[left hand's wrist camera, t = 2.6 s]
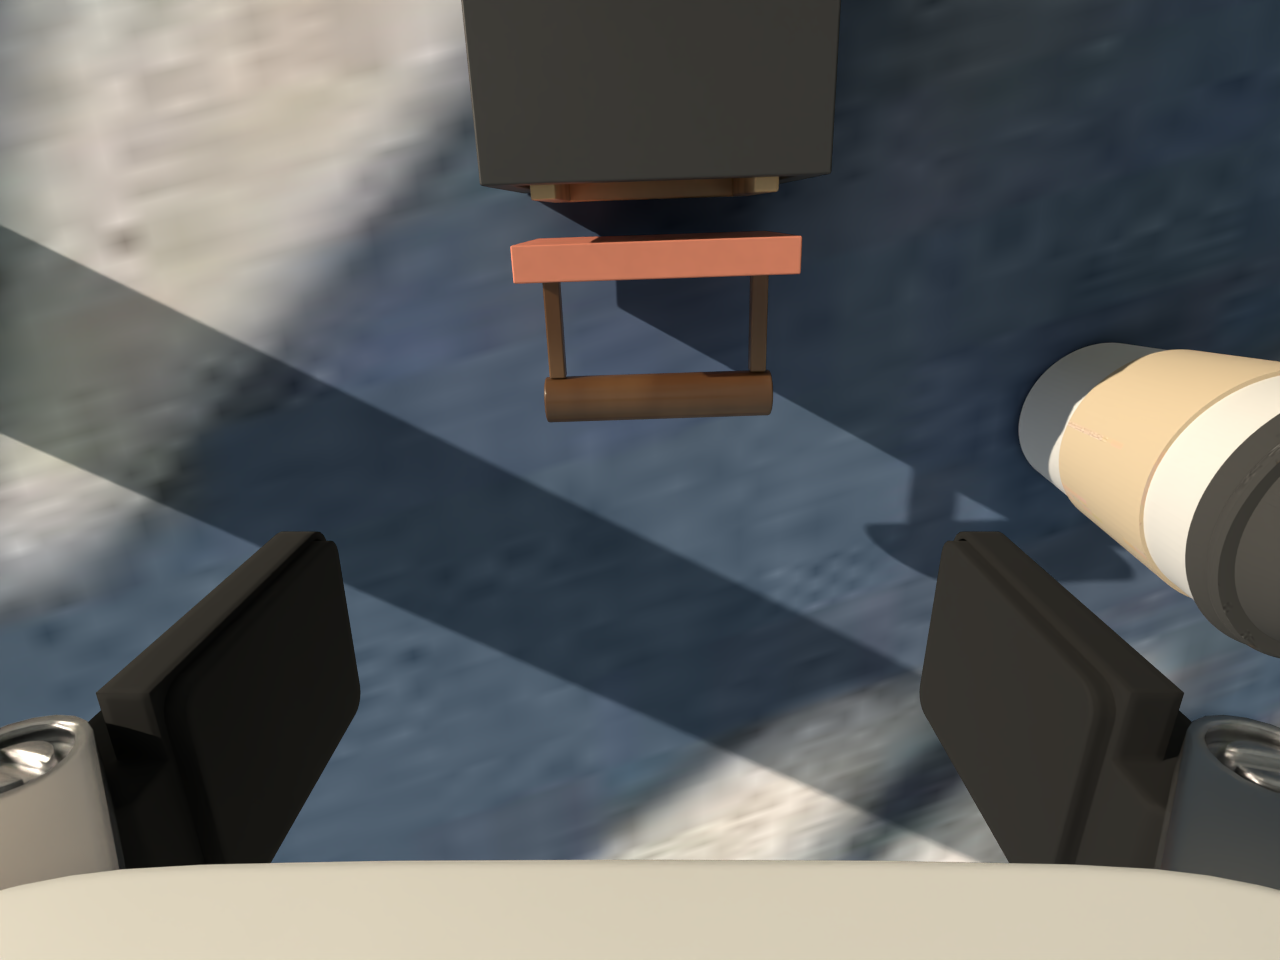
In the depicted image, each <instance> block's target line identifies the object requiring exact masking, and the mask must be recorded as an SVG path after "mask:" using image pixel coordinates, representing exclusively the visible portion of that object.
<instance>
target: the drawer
mask: <svg viewBox="0 0 1280 960" xmlns="http://www.w3.org/2000/svg"><path fill="white" fill-rule="evenodd" d="M778 189H779V177H752V178H723V179H695V180H666V181H637V182H609V183H580V184H551V185H530V190H531V199H532V200H536V201H544V202H553V203H559V202H587V201H616V200H645V199H674V198H703V197H731V196H751V195H757V194H764V193H770V192H776V191H778ZM801 252H802V236H798V235H791V234H784V233H777V232H770V231H746V232H717V233H688V234H659V235H630V236H601V237H572V238H543V239H535V240H532V241H528V242H524V243H520V244H517V245H513V246H511V258H512V269H513V280H514V283H515V284H518V283H543V295H544V308H545V321H546V334H547V347H548V360H549V373H550V377H547V378H546V380H545V385H544V401H545V412H546V417H547V420H548V422H574V421H605V420H635V419H666V418H696V417H727V416H757V415H769V414H770V413H771V410H772V404H773V383H772V376H771V373H770V371H769V370H766V345H767V310H768V276H769V275H783V274H800V272H801ZM724 276H750V305H749V353H748V369H749V371H718V372H688V373H658V374H628V375H598V376H568V377H566V375H567V371H566V356H565V342H564V327H563V313H562V298H561V284H560V282H577V281H606V280H636V279H665V278H694V277H724Z"/></svg>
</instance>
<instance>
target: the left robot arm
mask: <svg viewBox="0 0 1280 960" xmlns="http://www.w3.org/2000/svg"><path fill="white" fill-rule="evenodd" d="M96 695H97V698H98V701H99V705H100V708H101V711H100V712H99V713H98V714H97V715H95V716H94V717H93V718H92V719H91V720H90V721H89V722H87V721H86V720H83V719H81V718H78V717H76V716H67V715H51V716H44V717H36V718H31V719H27V720H24V721H20V722H16V723H12V724H9V725H6V726H4V727H1V728H0V960H1280V728H1279V727H1276V726H1274V725H1271V724H1268V723H1264V722H1260V721H1256V720H1253V719H1249V718H1244V717H1236V716H1229V715H1213V716H1204V717H1202V718H1199V719H1197V720H1194V721H1193V722H1191V721H1190V720H1189V719H1188V718H1187V717H1186V716H1185V715H1183V714H1182V713H1181V712H1180V711H1179V708H1180V705H1181V701H1182V698H1183V695H1184V692H1182V691H1181V690H1180V689H1179V688H1178V687H1177V686H1176V685H1175V684H1173V683H1172V682H1171V681H1170V680H1169V679H1168V678H1167V677H1165V676H1164V675H1163V674H1162V673H1161V672H1160V671H1159V670H1157V669H1156V668H1155V667H1154V666H1153V665H1152V664H1151V663H1149V662H1148V661H1147V660H1146V659H1145V658H1144V657H1143V656H1142V655H1140V654H1139V653H1138V652H1137V651H1136V650H1135V649H1134V648H1132V647H1131V646H1130V645H1129V644H1128V643H1127V642H1126V641H1124V640H1123V639H1122V638H1121V637H1120V636H1119V635H1118V634H1116V633H1115V632H1114V631H1113V630H1112V629H1111V628H1110V627H1109V626H1107V625H1106V624H1105V623H1104V622H1103V621H1102V620H1101V619H1099V618H1098V617H1097V616H1096V615H1095V614H1094V613H1093V612H1091V611H1090V610H1089V609H1088V608H1087V607H1086V606H1085V605H1083V604H1082V603H1081V602H1080V601H1079V600H1078V599H1077V598H1075V597H1074V596H1073V595H1072V594H1071V593H1070V592H1069V591H1068V590H1066V589H1065V588H1064V587H1063V586H1062V585H1061V584H1060V583H1058V582H1057V581H1056V580H1055V579H1054V578H1053V577H1052V576H1050V575H1049V574H1048V573H1047V572H1046V571H1045V570H1044V569H1042V568H1041V567H1040V566H1039V565H1038V564H1037V563H1036V562H1035V561H1033V560H1032V559H1031V558H1030V557H1029V556H1028V555H1027V554H1025V553H1024V552H1023V551H1022V550H1021V549H1020V548H1019V547H1017V546H1016V545H1015V544H1014V543H1013V542H1012V541H1011V540H1009V539H1008V538H1007V537H1006V536H1005V535H1004V534H1002V533H1000V532H959V533H958V534H957V535H956V537H955V539H954V541H947V542H946V543H945V544H944V546H943V549H942V554H941V560H940V566H939V572H938V578H937V585H936V591H935V597H934V603H933V609H932V615H931V622H930V628H929V634H928V640H927V646H926V653H925V659H924V665H923V671H922V677H921V683H920V702H921V706H922V710H923V712H924V714H925V716H926V718H927V719H928V721H929V723H930V725H931V726H932V728H933V730H934V732H935V733H936V735H937V737H938V739H939V740H940V742H941V744H942V746H943V747H944V749H945V751H946V753H947V754H948V756H949V758H950V760H951V761H952V763H953V765H954V767H955V768H956V770H957V772H958V774H959V775H960V777H961V779H962V781H963V782H964V784H965V786H966V788H967V789H968V791H969V793H970V795H971V796H972V798H973V800H974V802H975V803H976V805H977V807H978V809H979V810H980V812H981V814H982V816H983V818H984V819H985V821H986V823H987V825H988V826H989V828H990V830H991V832H992V833H993V835H994V837H995V839H996V840H997V842H998V844H999V846H1000V847H1001V849H1002V851H1003V853H1004V854H1005V856H1006V858H1007V860H1008V861H1009V863H969V862H917V861H795V860H485V861H363V862H311V863H271V861H272V860H273V858H274V856H275V854H276V853H277V851H278V849H279V847H280V846H281V844H282V842H283V840H284V839H285V837H286V835H287V833H288V832H289V830H290V828H291V826H292V825H293V823H294V821H295V819H296V818H297V816H298V814H299V812H300V810H301V809H302V807H303V805H304V803H305V802H306V800H307V798H308V796H309V795H310V793H311V791H312V789H313V788H314V786H315V784H316V782H317V781H318V779H319V777H320V775H321V774H322V772H323V770H324V768H325V767H326V765H327V763H328V761H329V760H330V758H331V756H332V754H333V753H334V751H335V749H336V747H337V746H338V744H339V742H340V740H341V739H342V737H343V735H344V733H345V732H346V730H347V728H348V726H349V725H350V723H351V721H352V719H353V718H354V716H355V714H356V712H357V710H358V706H359V702H360V683H359V677H358V671H357V665H356V659H355V653H354V646H353V640H352V634H351V628H350V622H349V615H348V609H347V603H346V597H345V591H344V585H343V578H342V572H341V566H340V560H339V554H338V549H337V546H336V544H335V543H334V542H333V541H326V539H325V537H324V535H323V534H322V533H321V532H280V533H278V534H276V535H275V536H274V537H273V538H272V539H271V540H269V541H268V542H267V543H266V544H265V545H264V546H263V547H261V548H260V549H259V550H258V551H257V552H256V553H255V554H253V555H252V556H251V557H250V558H249V559H248V560H247V561H245V562H244V563H243V564H242V565H241V566H240V567H239V568H238V569H236V570H235V571H234V572H233V573H232V574H231V575H230V576H228V577H227V578H226V579H225V580H224V581H223V582H222V583H220V584H219V585H218V586H217V587H216V588H215V589H214V590H212V591H211V592H210V593H209V594H208V595H207V596H206V597H205V598H203V599H202V600H201V601H200V602H199V603H198V604H197V605H195V606H194V607H193V608H192V609H191V610H190V611H189V612H187V613H186V614H185V615H184V616H183V617H182V618H181V619H179V620H178V621H177V622H176V623H175V624H174V625H173V626H171V627H170V628H169V629H168V630H167V631H166V632H165V633H164V634H162V635H161V636H160V637H159V638H158V639H157V640H156V641H154V642H153V643H152V644H151V645H150V646H149V647H148V648H146V649H145V650H144V651H143V652H142V653H141V654H140V655H138V656H137V657H136V658H135V659H134V660H133V661H132V662H131V663H129V664H128V665H127V666H126V667H125V668H124V669H123V670H121V671H120V672H119V673H118V674H117V675H116V676H115V677H113V678H112V679H111V680H110V681H109V682H108V683H107V684H105V685H104V686H103V687H102V688H101V689H100V690H99V691H98V692H96Z"/></svg>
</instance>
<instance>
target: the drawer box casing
mask: <svg viewBox="0 0 1280 960" xmlns="http://www.w3.org/2000/svg"><path fill="white" fill-rule="evenodd" d="M461 2H462V12H463V22H464V31H465V41H466V51H467V61H468V70H469V80H470V90H471V100H472V110H473V119H474V129H475V139H476V149H477V159H478V168H479V178H480V184H481V185H482V186H486V187H491V188H497V189H503V190H508V191H514V192H520V193H531V190H530V185H551V184H580V183H609V182H637V181H666V180H695V179H723V178H752V177H779V184H781V183H786V182H791V181H796V180H801V179H806V178H811V177H816V176H821V175H826V174H830V173H831V168H832V150H833V132H834V114H835V96H836V79H837V61H838V43H839V25H840V7H841V0H461Z"/></svg>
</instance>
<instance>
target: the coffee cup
mask: <svg viewBox="0 0 1280 960" xmlns="http://www.w3.org/2000/svg"><path fill="white" fill-rule="evenodd" d="M1019 440H1020V445H1021V448H1022V451H1023V453H1024V455H1025V457H1026V459H1027V460H1028V462H1029V463H1030V464H1031V466H1032V467H1033V468H1034V469H1035V470H1037V471H1038V472H1039V473H1040V474H1042V475H1043V476H1044V477H1045V478H1046V479H1048V480H1049V481H1050V482H1051V483H1052V484H1054V485H1055V486H1056V487H1057V488H1059V489H1060V490H1061V491H1062V492H1063V493H1065V494H1066V495H1067V496H1068V498H1069V499H1070V500H1071V502H1072V503H1073V504H1074V505H1075V507H1076V508H1077V509H1079V510H1080V511H1081V512H1082V513H1083V514H1084V515H1086V516H1087V517H1088V518H1089V519H1090V520H1092V521H1093V522H1094V523H1095V524H1096V525H1098V526H1099V527H1100V528H1101V529H1102V530H1104V531H1105V532H1106V533H1107V534H1108V535H1109V536H1111V537H1112V538H1113V539H1114V540H1115V541H1117V542H1118V543H1119V544H1120V545H1121V546H1123V547H1124V548H1125V549H1126V550H1127V551H1129V552H1130V553H1131V554H1132V555H1133V556H1135V557H1136V558H1137V559H1138V560H1139V561H1141V562H1142V563H1143V564H1144V565H1145V566H1147V567H1148V568H1149V569H1150V570H1151V571H1153V572H1154V573H1155V574H1156V575H1157V576H1159V577H1160V578H1161V579H1162V580H1163V581H1164V582H1166V583H1167V584H1168V585H1169V586H1171V587H1172V588H1174V589H1175V590H1177V591H1178V592H1180V593H1182V594H1184V595H1186V596H1188V597H1191V598H1192V599H1193V600H1194V601H1195V603H1196V604H1197V606H1198V608H1199V609H1200V611H1201V612H1202V614H1203V615H1204V616H1205V617H1206V618H1207V620H1208V621H1209V622H1210V623H1211V624H1212V625H1214V626H1215V627H1216V628H1217V629H1218V630H1220V631H1221V632H1222V633H1224V634H1225V635H1227V636H1229V637H1231V638H1232V639H1234V640H1237V641H1239V642H1241V643H1244V644H1246V645H1248V646H1250V647H1251V648H1253V649H1255V650H1257V651H1259V652H1262V653H1264V654H1267V655H1270V656H1273V657H1277V658H1280V362H1278V361H1270V360H1263V359H1255V358H1248V357H1240V356H1233V355H1225V354H1218V353H1210V352H1203V351H1195V350H1183V349H1179V350H1163V349H1156V348H1149V347H1143V346H1136V345H1129V344H1122V343H1100V344H1095V345H1091V346H1087V347H1084V348H1081V349H1079V350H1076V351H1074V352H1072V353H1070V354H1068V355H1066V356H1065V357H1063V358H1062V359H1060V360H1059V361H1057V362H1056V363H1055V364H1053V365H1052V366H1051V367H1050V368H1049V369H1048V370H1047V371H1046V372H1045V373H1044V374H1043V375H1042V376H1041V377H1040V378H1039V379H1038V380H1037V382H1036V383H1035V384H1034V386H1033V387H1032V389H1031V391H1030V392H1029V394H1028V396H1027V398H1026V400H1025V402H1024V405H1023V407H1022V411H1021V414H1020V419H1019Z"/></svg>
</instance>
